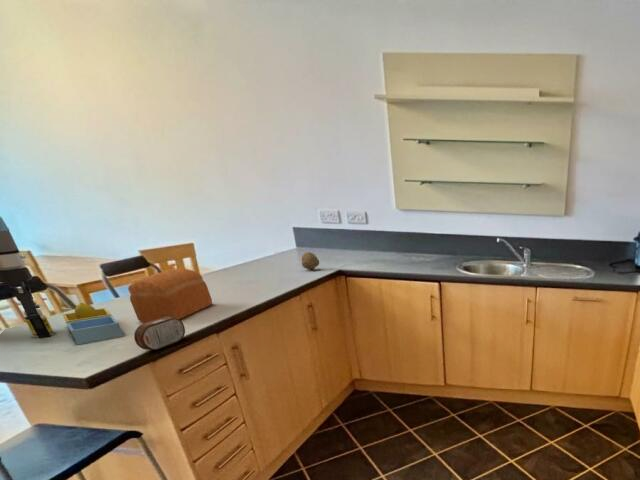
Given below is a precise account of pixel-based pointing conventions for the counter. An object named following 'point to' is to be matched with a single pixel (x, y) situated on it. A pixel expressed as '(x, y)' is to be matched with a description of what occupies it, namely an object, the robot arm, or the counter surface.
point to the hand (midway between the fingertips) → (43, 332)
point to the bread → (169, 295)
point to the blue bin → (95, 329)
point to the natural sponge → (309, 261)
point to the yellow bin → (101, 313)
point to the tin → (159, 333)
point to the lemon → (85, 311)
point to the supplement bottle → (43, 321)
